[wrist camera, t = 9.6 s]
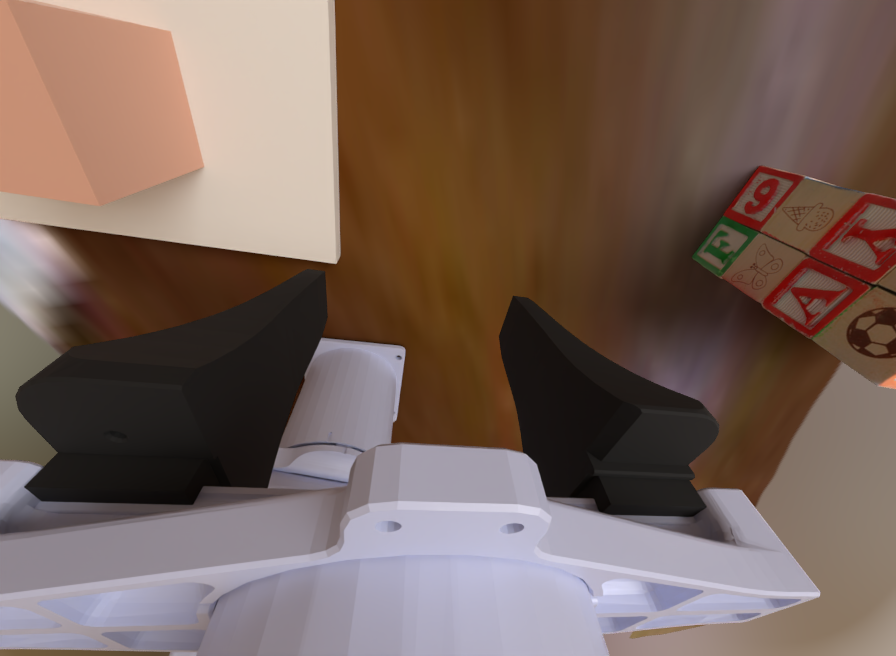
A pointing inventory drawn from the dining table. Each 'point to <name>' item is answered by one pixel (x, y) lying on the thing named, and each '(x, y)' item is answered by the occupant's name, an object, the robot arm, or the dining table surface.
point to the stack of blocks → (815, 264)
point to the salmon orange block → (89, 105)
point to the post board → (234, 132)
